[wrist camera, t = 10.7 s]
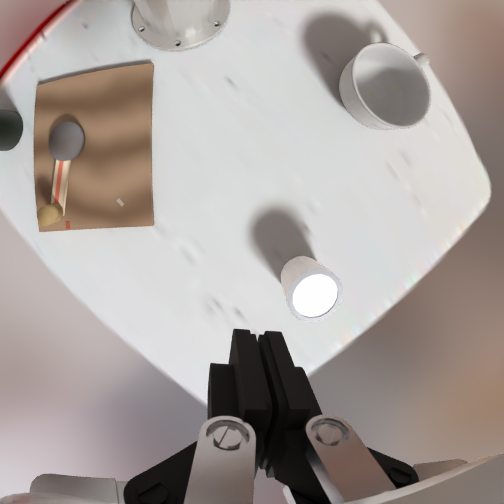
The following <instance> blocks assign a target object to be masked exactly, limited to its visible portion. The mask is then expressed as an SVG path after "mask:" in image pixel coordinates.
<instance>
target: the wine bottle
mask: <svg viewBox="0 0 504 504" xmlns="http://www.w3.org/2000/svg"><path fill="white" fill-rule="evenodd" d="M22 132H23V121H22V118H21V116H20V115H19V114H18V113H17V112H13V111H7V110H1V109H0V151H8V150H11V149H12V148H14V147H15V146H16V145H17V144H18V142H19V140H20V138H21V136H22Z"/></svg>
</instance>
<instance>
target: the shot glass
mask: <svg viewBox="0 0 504 504" xmlns="http://www.w3.org/2000/svg"><path fill="white" fill-rule="evenodd" d="M281 284H282V287H283V291H284V294H285V298H286V302H287V305H288V307H289V309H290V311H291V314H293V315H294V316H295V317H296V318H298V319H299V320H302V321H306V322H315V321H320V320H322V319H324V318H326V317H328V316H330V315H331V314H332V313H333V312H334V311H335V310H336V309H337V308H338V305H339V303H340V301H341V299H342V291H343V288H342V285H341V282H340V279H339V278H338V277H337V276H336V275H335V274H334V273H333V272H332V271H330V270H329V269H327V268H326V267H324V266H323V265H321V264H320V263H318V262H317V261H315V260H314V259H312V258H310V257H307V256H297V257H295V258H293V259H291V260H289V261H288V262H287V263H286V264H285V265H284V267H283V269H282V271H281Z"/></svg>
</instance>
